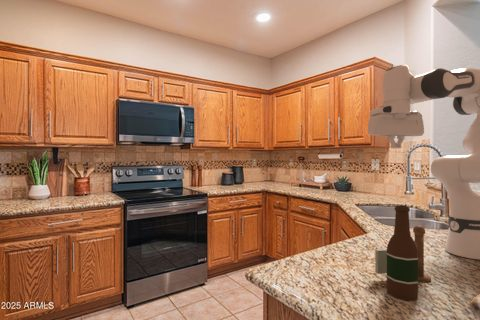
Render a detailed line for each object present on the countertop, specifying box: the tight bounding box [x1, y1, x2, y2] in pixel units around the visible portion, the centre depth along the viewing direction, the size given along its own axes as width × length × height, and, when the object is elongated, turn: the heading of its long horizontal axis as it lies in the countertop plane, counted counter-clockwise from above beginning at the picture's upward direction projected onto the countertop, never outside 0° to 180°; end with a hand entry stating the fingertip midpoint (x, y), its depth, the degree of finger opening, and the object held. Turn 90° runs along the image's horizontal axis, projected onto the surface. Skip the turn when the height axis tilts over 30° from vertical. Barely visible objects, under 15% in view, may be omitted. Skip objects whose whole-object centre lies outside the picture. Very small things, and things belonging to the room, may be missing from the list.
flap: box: [374, 248, 387, 274], centre depth 84 cm, size 12×1×7 cm, turn 95°
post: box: [412, 225, 432, 283], centre depth 84 cm, size 6×6×16 cm
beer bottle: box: [386, 204, 419, 302], centre depth 74 cm, size 8×8×24 cm
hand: (396, 148), depth 99 cm, fingers closed
